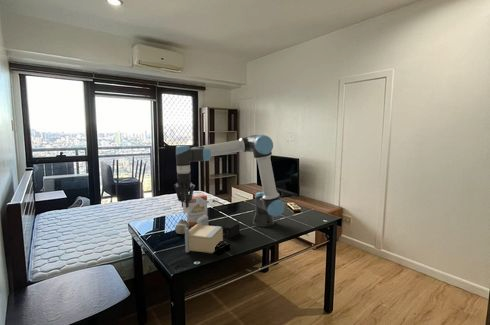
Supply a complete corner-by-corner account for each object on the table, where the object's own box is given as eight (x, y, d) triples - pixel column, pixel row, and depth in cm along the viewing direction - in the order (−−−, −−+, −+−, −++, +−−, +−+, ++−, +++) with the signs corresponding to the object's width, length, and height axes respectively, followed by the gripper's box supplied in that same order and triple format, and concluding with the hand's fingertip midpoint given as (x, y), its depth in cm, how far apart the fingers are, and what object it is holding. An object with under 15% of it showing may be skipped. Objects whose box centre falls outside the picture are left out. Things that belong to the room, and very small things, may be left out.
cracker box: (188, 227, 179) (187, 198, 176) (186, 224, 184) (185, 196, 182) (208, 224, 185) (207, 195, 182) (205, 221, 190) (204, 193, 188)
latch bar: (206, 216, 165) (206, 214, 164) (198, 223, 153) (198, 220, 153) (204, 216, 165) (204, 214, 165) (196, 222, 154) (196, 220, 153)
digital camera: (232, 231, 170) (232, 221, 169) (239, 233, 167) (239, 223, 166) (223, 237, 161) (222, 226, 160) (229, 239, 158) (229, 228, 157)
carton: (228, 234, 164) (227, 214, 163) (211, 255, 137) (210, 231, 136) (206, 232, 168) (205, 212, 167) (185, 252, 141) (184, 228, 140)
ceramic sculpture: (171, 222, 164) (177, 216, 179) (171, 235, 164) (177, 228, 179) (187, 222, 164) (192, 216, 179) (188, 235, 164) (192, 228, 179)
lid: (221, 228, 154) (221, 223, 154) (211, 238, 139) (211, 233, 138) (200, 226, 158) (200, 221, 157) (187, 236, 142) (187, 231, 142)
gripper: (169, 173, 143) (172, 214, 146) (191, 173, 140) (192, 215, 143) (176, 171, 150) (178, 210, 153) (197, 171, 147) (198, 211, 150)
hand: (185, 212), depth 148 cm, fingers closed
